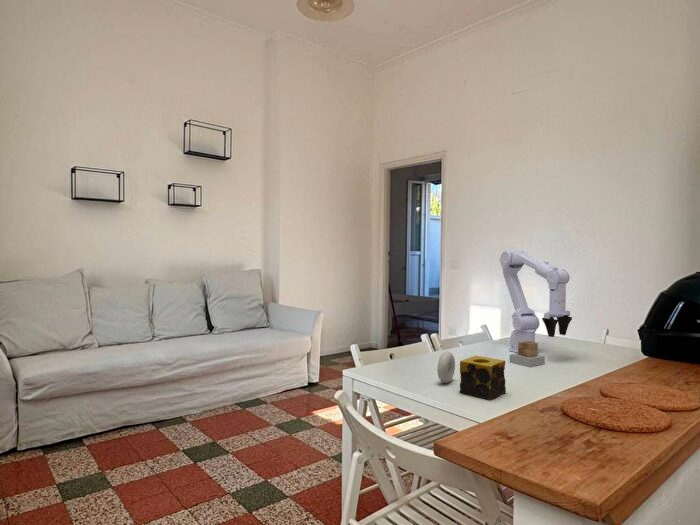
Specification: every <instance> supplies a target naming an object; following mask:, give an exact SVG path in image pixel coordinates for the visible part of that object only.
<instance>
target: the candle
mask: <svg viewBox="0 0 700 525" xmlns="http://www.w3.org/2000/svg"><path fill="white" fill-rule="evenodd" d="M505 369H506V360H505V359H499V358H498V359H497V358H491V357H488V356H487V357H486V356H481V355H480V356H479V355H473V356H470V357H467V358H464V359H462V360H460V361H459V374H460V375H459V376H460V377H459V379H460V383H459V394H463V395H466V396H470V397H475V398H479V399H484V400H488V401H492V400H494V399H496V398H499V397H501V395H504V394H506V392H507V390H506V389H507V388H506V381H507V380H506V378H505Z"/></svg>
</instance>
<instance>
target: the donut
mask: <svg viewBox="0 0 700 525" xmlns="http://www.w3.org/2000/svg"><path fill="white" fill-rule="evenodd" d="M455 360H456V359H455V356H454V355H453V353H452V352H450V351H444V352H443V353H441V355H440V356H439V359H438V361H437V362H438V363H437V367H436V368H437V377H438V379H439V380H440V382H442V383H445V384H446V383H449V382H451V380H453V377H454V375H455V371H456V361H455Z"/></svg>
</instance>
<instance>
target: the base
mask: <svg viewBox="0 0 700 525" xmlns="http://www.w3.org/2000/svg"><path fill="white" fill-rule="evenodd" d="M545 362H546V357H545V355H541V354H538V356H535V357H530V358H529V357H525V356H520V355H518V353H517V352H514V353H511V354H509V363H511V364H516V365H519V366H523V367H528V368H533V367H538V366H542V365H545Z"/></svg>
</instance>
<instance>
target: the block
mask: <svg viewBox="0 0 700 525" xmlns="http://www.w3.org/2000/svg"><path fill="white" fill-rule="evenodd" d="M538 345H539V344H538V342H536V341H535V342H531V341H521V342H518V355H520V356H525V357H529V358H530V357H535V356H538V355H539V353H538V351H539V349H538V348H539V347H538Z"/></svg>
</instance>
